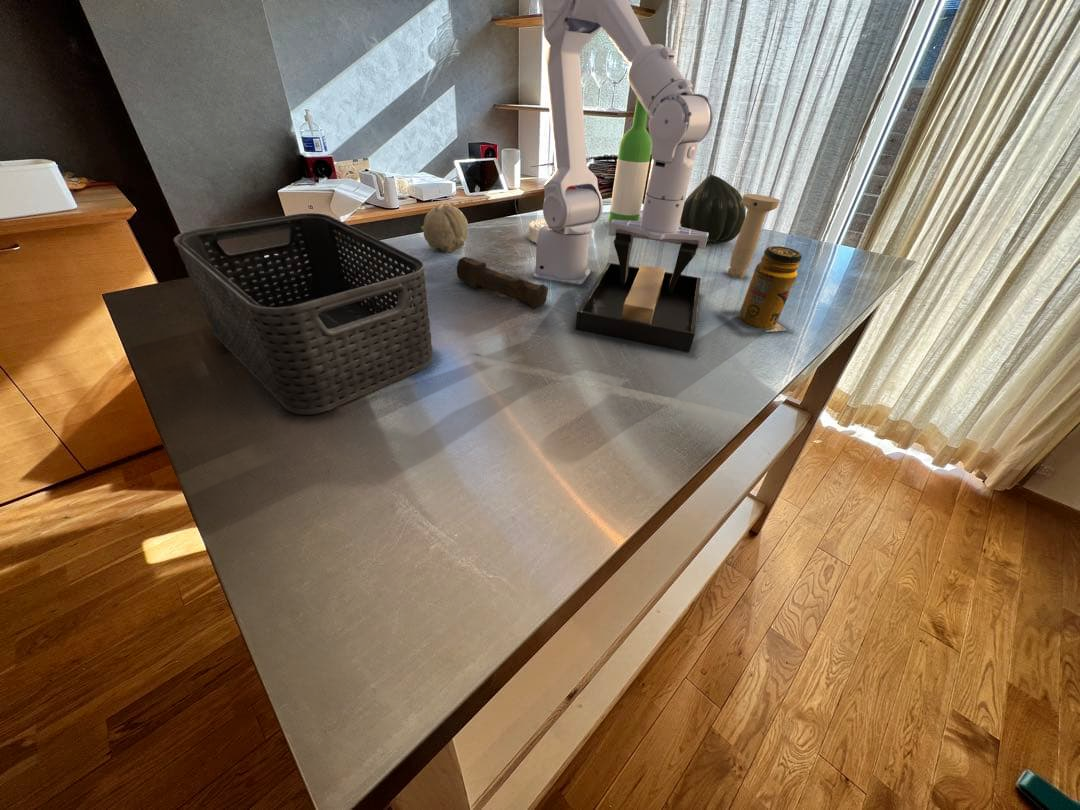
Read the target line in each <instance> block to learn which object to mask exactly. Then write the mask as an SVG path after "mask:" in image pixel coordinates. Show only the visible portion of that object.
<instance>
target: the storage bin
mask: <svg viewBox="0 0 1080 810" xmlns="http://www.w3.org/2000/svg"><path fill="white" fill-rule="evenodd" d="M284 230H289V234H288V235H289V236H288V242H286V243H281V244H277V245H272V246H265V247H261V248H255V249H250V250H245V251H239V252H233V253H228V252H226V251H225V249H224V248H223V247H222V246H221V245H220V243H219V241H223V240H230V239H235V238H242V237H247V236H255V235H260V234H266V233H271V232H272V233H273V232H277V231H284ZM302 241H303V242H302ZM173 243H174V245H175V247H176V248H177V249H178V252H179V255H180V259H181V261H182V262H183V263H184V266H185V269H186V272H187V275H188V277H189V279H191V283H192V285H193V287H194V291H195V292H196V294H197V296H198V300H199V302H200V305H201V307H202V308H203V310H204V313H205V315H206V319H207V321H208V322H209V324H210V327H211V329H212V333H213V335H214V336H215V337H216V339H218V341H219V342H220V343H221V344H222V345H223V346H224V347H225V348H226V349H227V350H228V351H229V352H230V353H231V354H232V355H233V356H234V357H235V358H236V360H238V361H239V363H240V364H241V365H242V366H243V367H244V368H245V369H246V370H247V371H248V372H249V373H250V374H251V375H252V376H253V377H254V378H255V379H256V380H257V381H258V382H259V383H260V384H261V386H263V387H264V388H265V389H266V390H267V391H268V393H270V395H272V397H273V398H274V399H276V401H277V402H278V403H279V404H280V405H281V406H282V407H283V408H284V409H285V410H287V411H288V412H290V413H293V414H296V415H306V416H307V415H316V414H320V413H325V412H328V411H332V410H333V409H335V408H338V407H340V406H342V405H344V404H347V403H349V402H351V401H353V400H356V399H359V398H360V397H363V396H364V395H367V394H369V393H372V392H374V391H376V390H379V389H381V388H383V387H386V386H388V385H390V384H393V383H394V382H397V381H399V380H401V379H404V378H406V377H409V376H410V375H413V374H415V373H417V372H419V371H422V370H424V369H425V368H428V367H429V365H431V364H432V363H433V360H434V349H433V345H432V333H431V319H430V313H429V309H430V308H429V303H428V290H427V286H426V285H427V284H426V273H425V271H426V269H425V263H424V262H423V261H422V260H421V259H420V258H418V257H416V256H414V255H411V254H409V253H407V252H405V251H403V250H401V249H399V248H397V247H395V246H392V245H391V244H388V243H387V242H384V241H382V240H381V239H378V238H377V237H374V236H373V235H370V234H368V233H366V232H364V231H361V230H359V228H355V227H354V226H351V225H349V224H347V223H345V222H344V221H341V220H340V219H337V218H335V217H333V216H331V215H328V214H325V213H324V214H323V213H315V212H305V213H295V214H288V215H283V216H277V217H271V218H264V219H257V220H250V221H243V222H236V223H230V224H224V225H223V224H222V225H217V226H209V227H202V228H196V229H191V230H187V231H183V232H182V233H179V234H177V235H176V236H174V238H173ZM224 264H225V265H224ZM238 269H239V270H238Z"/></svg>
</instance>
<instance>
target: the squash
mask: <svg viewBox="0 0 1080 810" xmlns="http://www.w3.org/2000/svg"><path fill="white" fill-rule="evenodd" d="M742 199H743V196H742V194H740V191H739V190H737V189H736V188H735V187H734V186H733V185H731V184H730V183H729V182H727V181H726V180H724V179H722V178H721V177H720V176H717V175H714V174H709V176H707V177H706V178H705V179H703V180H702V181H701V183H700V184H699V185H698V186H697V187H696V188H695V189H694V190H692V192H691V193H690V194H689V195H688V196H686V198H685V202H684V207H683V211H682V215H681V220H680V224H679V226H680V227H683V228H688V229H692V230H696V231H701V232H707V233H708V239H707V242H708V241H709V242H711V243H715V242H716V243H719V244H725V243H728V242H730V241H732V240H734V239H735V238H737V237H738V236H739V233H740V230H741V228H742V225H743V222H744V220H745V217H746V214H747V211H746V206H744V205H743V203H742Z"/></svg>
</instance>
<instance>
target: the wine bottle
mask: <svg viewBox="0 0 1080 810" xmlns="http://www.w3.org/2000/svg"><path fill="white" fill-rule="evenodd" d="M635 101H636V102H635V107H634V113H633V118H632V126H631V128H630V129H628V130H627V131H626V132H625V133H624V134H623V136H622V138H621V139H620V143H619V146H618V154H617V159H616V166H615V174H614V180H613V187H612V194H611V201H610V209H609V217H608V223H609V224H610V223H611V221H612V220H613V219H615V220H625V221H640V215H641V212H642V211H641V210H642V205H643V201H644V194H645V188H646V182H647V177H648V171H649V167H650V161H651V160H650V159H651V156H652V154H651V149H652V140H651V137H650V133H649V131H648V130H647V127H646V126H647V119H648V114H647V112H646V111H645V109H644V107H643V106H642V104H641V103H640V101H639V99H638V98H637V97H636V100H635Z"/></svg>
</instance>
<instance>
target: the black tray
mask: <svg viewBox="0 0 1080 810" xmlns="http://www.w3.org/2000/svg"><path fill="white" fill-rule="evenodd" d="M639 269H640V267H637V266H632V265H629V268H628V275H627V280H626V282H625V284H621V272H620V264H619V263H614V262H607V263H606V265H605V266H604V268H603V269H602V271H601V273H600V275H598V278H597V280H596V281H595V283H594V284H593V286H591V289H590V290H589V292H588V294H587V295H586V297H585V299H584V300H583V302H582V303H581V305H580V307H579V308H578V310H577V311H576V320H575V331H579V332H583V333H589V334H593V335H599V336H605V337H609V338H614V339H619V340H623V341H628V342H634V343H639V344H643V345H649V346H653V347H658V348H663V349H668V350H673V351H678V352H683V353H687V354H690V351H691V349H692V345H693V342H694V339H695V335H696V326H697V318H698V309H699V307H698V306H699V300H700V299H699V298H700V290H701V289H700V288H701V280H702V279H701V277H698V276H692V275H686V274H681V275H680V276H679V278H678V280H677V282H676V284H675V286H674V288H673V291H672V292H668V289H669V285H670V281H671V278H672V275H673V272H668V271H665V274H664V278H663V282H662V287H661V291H660V295H659V298H658V302H657V305H656V308H655V312H654V315H653V319H652V322H651V324H648V323H643V322H638V321H632V320H627V319H622V312H623V307H624V303H625V301H626V298H627V296H628V294H629V292H630V289H631V287H632V285H633V282H634V280H635V278H636V275H637V273H638V271H639Z"/></svg>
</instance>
